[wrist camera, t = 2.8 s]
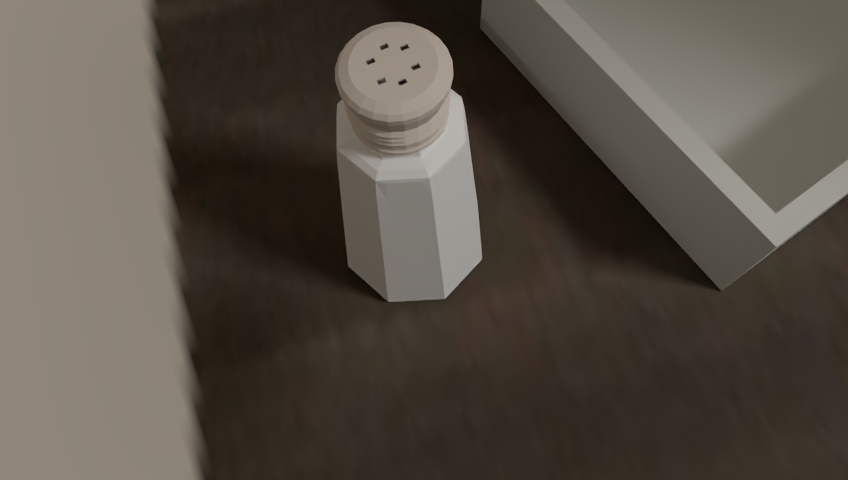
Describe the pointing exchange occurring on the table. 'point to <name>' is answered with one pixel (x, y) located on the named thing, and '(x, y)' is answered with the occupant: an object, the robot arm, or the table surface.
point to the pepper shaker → (405, 164)
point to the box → (699, 109)
